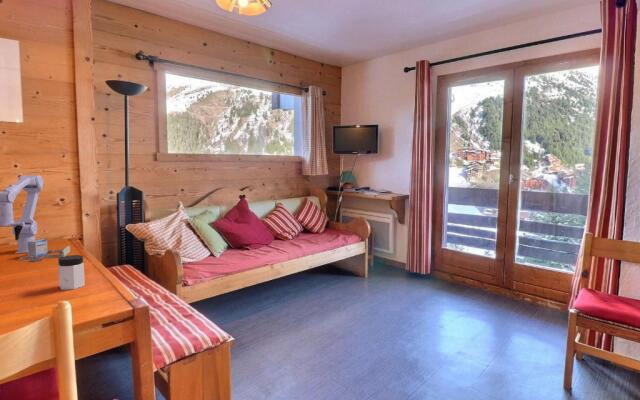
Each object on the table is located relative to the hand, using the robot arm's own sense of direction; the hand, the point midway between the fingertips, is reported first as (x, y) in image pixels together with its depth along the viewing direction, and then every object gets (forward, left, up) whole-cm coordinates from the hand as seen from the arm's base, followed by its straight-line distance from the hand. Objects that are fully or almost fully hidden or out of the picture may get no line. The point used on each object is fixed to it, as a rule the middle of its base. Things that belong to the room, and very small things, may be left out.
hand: (7, 240), depth 188 cm
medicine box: (0, +12, -10) cm, 16 cm away
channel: (0, +16, -9) cm, 19 cm away
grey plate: (0, +16, -9) cm, 19 cm away
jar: (+66, +39, -10) cm, 77 cm away
